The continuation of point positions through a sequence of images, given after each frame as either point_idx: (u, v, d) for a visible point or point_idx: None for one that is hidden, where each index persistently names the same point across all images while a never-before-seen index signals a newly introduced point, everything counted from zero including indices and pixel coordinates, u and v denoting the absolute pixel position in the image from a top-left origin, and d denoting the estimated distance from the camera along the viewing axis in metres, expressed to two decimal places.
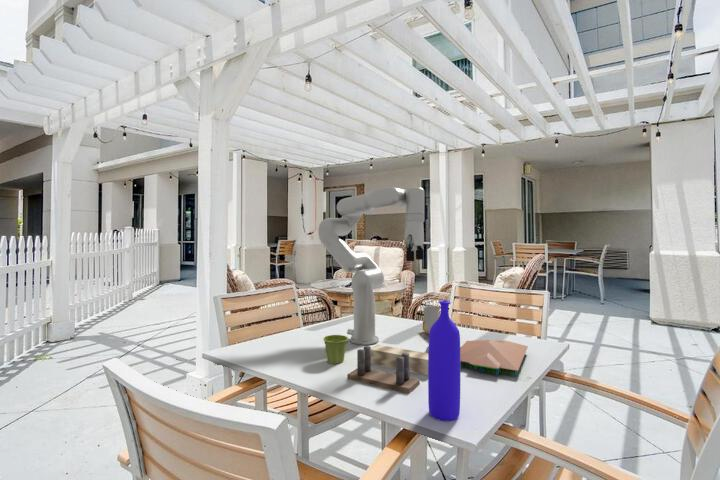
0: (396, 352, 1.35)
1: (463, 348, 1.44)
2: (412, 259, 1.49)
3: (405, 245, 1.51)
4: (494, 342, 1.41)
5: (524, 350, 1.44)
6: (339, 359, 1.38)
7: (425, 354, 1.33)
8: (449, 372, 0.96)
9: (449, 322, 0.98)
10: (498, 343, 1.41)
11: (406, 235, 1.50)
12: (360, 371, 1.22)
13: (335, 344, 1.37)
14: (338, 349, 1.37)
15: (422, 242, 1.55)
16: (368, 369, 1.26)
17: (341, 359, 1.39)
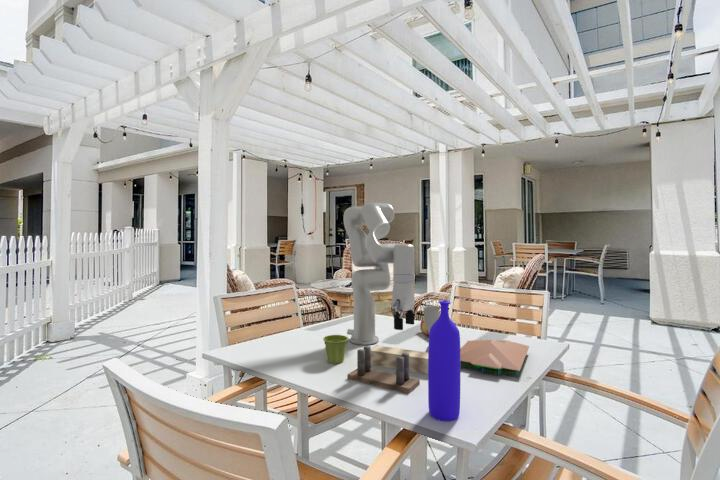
0: (396, 352, 1.35)
1: (464, 348, 1.44)
2: (401, 328, 1.30)
3: None
4: (496, 342, 1.41)
5: (525, 350, 1.44)
6: (339, 359, 1.38)
7: (425, 353, 1.34)
8: (449, 372, 0.96)
9: (449, 322, 0.98)
10: (500, 343, 1.41)
11: (394, 299, 1.31)
12: (360, 371, 1.22)
13: (335, 344, 1.37)
14: (338, 349, 1.37)
15: (412, 305, 1.36)
16: (368, 369, 1.26)
17: (341, 359, 1.39)
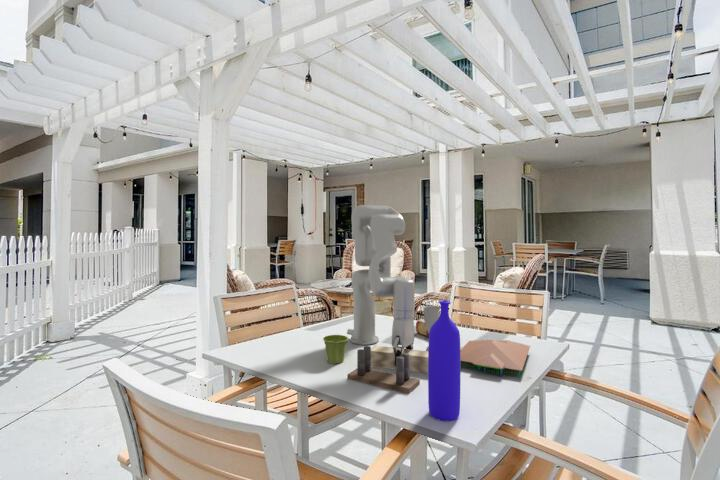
0: None
1: (466, 348, 1.44)
2: None
3: None
4: (497, 342, 1.41)
5: (527, 350, 1.44)
6: (339, 359, 1.38)
7: (426, 352, 1.34)
8: (449, 372, 0.96)
9: (449, 322, 0.98)
10: (501, 343, 1.41)
11: (393, 336, 1.32)
12: (360, 371, 1.22)
13: (335, 344, 1.37)
14: (338, 349, 1.37)
15: (412, 340, 1.36)
16: (368, 369, 1.26)
17: (341, 359, 1.39)
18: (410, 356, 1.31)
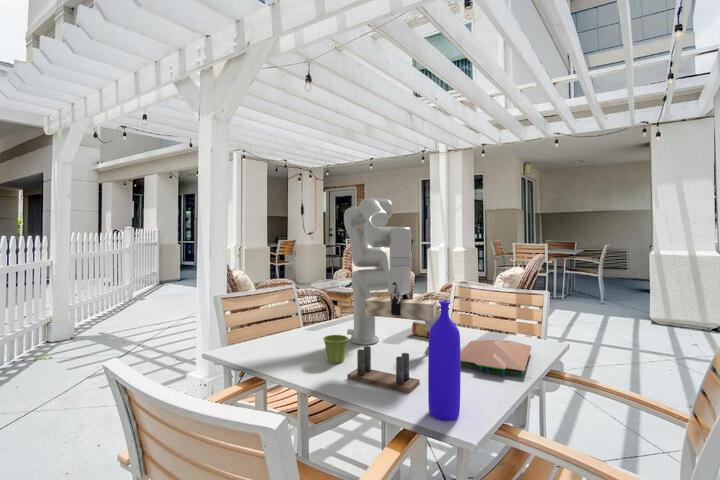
0: None
1: (468, 348, 1.44)
2: (398, 313, 1.28)
3: (389, 294, 1.30)
4: (499, 342, 1.41)
5: (528, 350, 1.44)
6: (339, 359, 1.38)
7: (422, 301, 1.31)
8: (449, 372, 0.96)
9: (449, 322, 0.98)
10: (503, 343, 1.41)
11: (390, 283, 1.29)
12: (360, 371, 1.22)
13: (335, 344, 1.37)
14: (338, 349, 1.37)
15: (409, 289, 1.34)
16: (368, 369, 1.26)
17: (341, 359, 1.39)
18: (407, 304, 1.28)
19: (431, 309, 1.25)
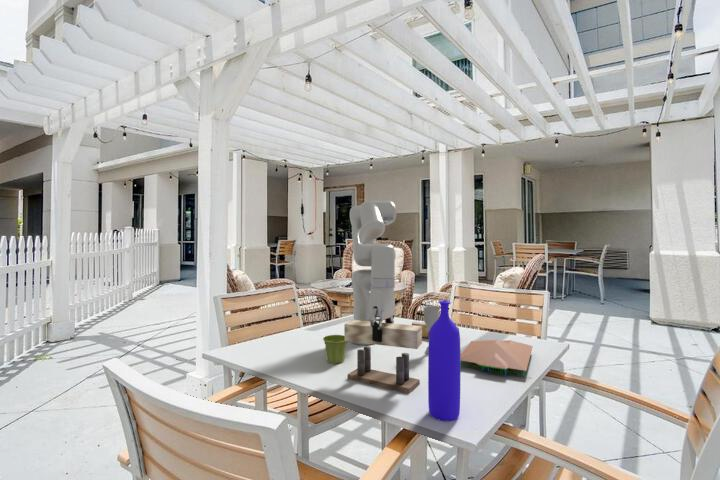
0: None
1: (469, 348, 1.44)
2: (379, 339, 1.17)
3: None
4: (500, 342, 1.40)
5: (530, 350, 1.44)
6: (339, 359, 1.38)
7: (407, 326, 1.20)
8: (449, 372, 0.96)
9: (449, 322, 0.98)
10: (504, 343, 1.41)
11: (371, 307, 1.18)
12: (360, 371, 1.22)
13: (335, 344, 1.37)
14: (338, 349, 1.37)
15: (392, 313, 1.23)
16: (368, 369, 1.26)
17: (341, 359, 1.39)
18: (389, 329, 1.17)
19: (415, 336, 1.14)
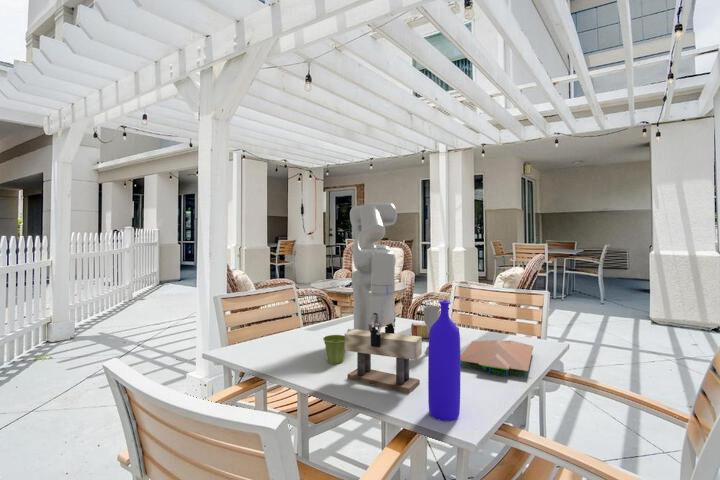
0: None
1: (470, 349, 1.43)
2: (378, 345, 1.17)
3: None
4: (501, 342, 1.40)
5: (531, 350, 1.44)
6: (339, 359, 1.38)
7: (407, 336, 1.20)
8: (449, 372, 0.96)
9: (449, 322, 0.98)
10: (505, 343, 1.41)
11: (371, 313, 1.18)
12: (360, 371, 1.22)
13: (335, 344, 1.37)
14: (338, 349, 1.37)
15: (392, 319, 1.23)
16: (368, 369, 1.26)
17: (341, 359, 1.39)
18: (388, 340, 1.17)
19: (414, 347, 1.14)
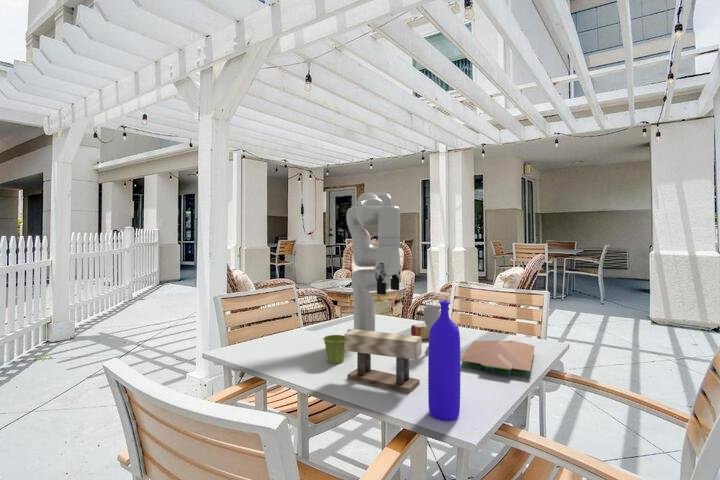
0: (374, 335, 1.21)
1: (472, 349, 1.43)
2: (383, 292, 1.25)
3: None
4: (503, 342, 1.40)
5: (532, 350, 1.44)
6: (339, 359, 1.38)
7: (407, 336, 1.20)
8: (449, 372, 0.96)
9: (449, 322, 0.98)
10: (507, 343, 1.41)
11: (377, 263, 1.26)
12: (360, 371, 1.22)
13: (335, 344, 1.37)
14: (338, 349, 1.37)
15: (397, 270, 1.31)
16: (368, 369, 1.26)
17: (341, 359, 1.39)
18: (388, 340, 1.17)
19: (414, 347, 1.14)
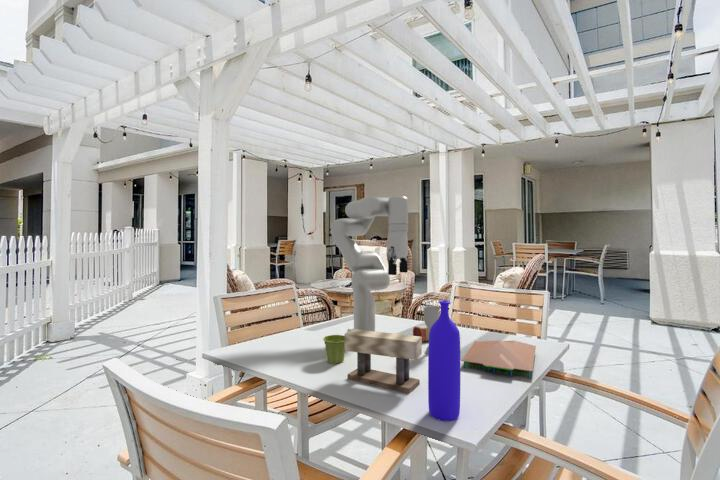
0: (374, 335, 1.21)
1: (473, 349, 1.43)
2: (394, 273, 1.40)
3: None
4: (504, 342, 1.40)
5: (533, 350, 1.44)
6: (339, 359, 1.38)
7: (407, 336, 1.20)
8: (449, 372, 0.96)
9: (449, 322, 0.98)
10: (508, 343, 1.41)
11: (388, 247, 1.41)
12: (360, 371, 1.22)
13: (335, 344, 1.37)
14: (338, 349, 1.37)
15: (406, 254, 1.46)
16: (368, 369, 1.26)
17: (341, 359, 1.39)
18: (388, 340, 1.17)
19: (414, 347, 1.14)
